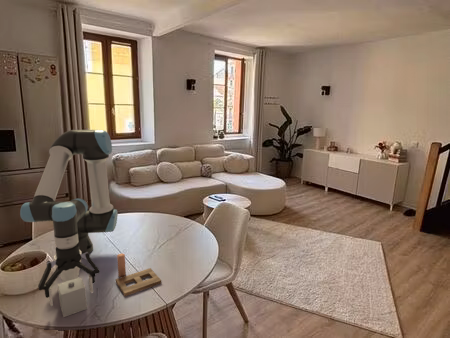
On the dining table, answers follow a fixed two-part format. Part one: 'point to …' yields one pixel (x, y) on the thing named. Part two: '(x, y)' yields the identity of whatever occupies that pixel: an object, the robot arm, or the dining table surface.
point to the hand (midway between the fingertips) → (72, 297)
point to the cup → (69, 272)
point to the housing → (72, 296)
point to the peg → (121, 265)
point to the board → (138, 281)
